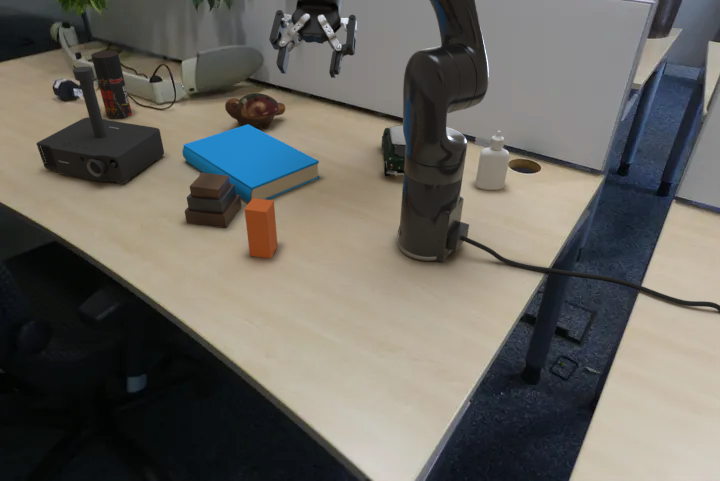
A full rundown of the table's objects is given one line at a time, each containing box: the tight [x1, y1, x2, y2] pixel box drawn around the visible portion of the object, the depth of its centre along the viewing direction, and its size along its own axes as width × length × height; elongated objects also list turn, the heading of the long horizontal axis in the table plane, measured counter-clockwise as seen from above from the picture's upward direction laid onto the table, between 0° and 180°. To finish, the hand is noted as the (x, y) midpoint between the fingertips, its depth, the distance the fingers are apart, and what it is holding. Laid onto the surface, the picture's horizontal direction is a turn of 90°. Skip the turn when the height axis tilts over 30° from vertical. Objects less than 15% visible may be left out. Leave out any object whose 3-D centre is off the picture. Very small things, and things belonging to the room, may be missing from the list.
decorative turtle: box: [224, 92, 286, 129], centre depth 132 cm, size 10×15×8 cm, turn 130°
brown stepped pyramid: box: [184, 172, 242, 229], centre depth 98 cm, size 8×8×7 cm
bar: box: [244, 198, 278, 259], centre depth 89 cm, size 4×4×9 cm
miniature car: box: [381, 124, 406, 178], centre depth 117 cm, size 9×18×8 cm, turn 1°
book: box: [182, 124, 320, 204], centre depth 114 cm, size 17×4×25 cm
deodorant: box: [90, 50, 133, 120], centre depth 134 cm, size 6×6×15 cm
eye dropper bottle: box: [475, 130, 511, 191], centre depth 108 cm, size 4×6×12 cm
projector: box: [36, 66, 165, 184], centre depth 110 cm, size 19×17×20 cm
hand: (307, 73), depth 90 cm, fingers open, 8 cm apart
